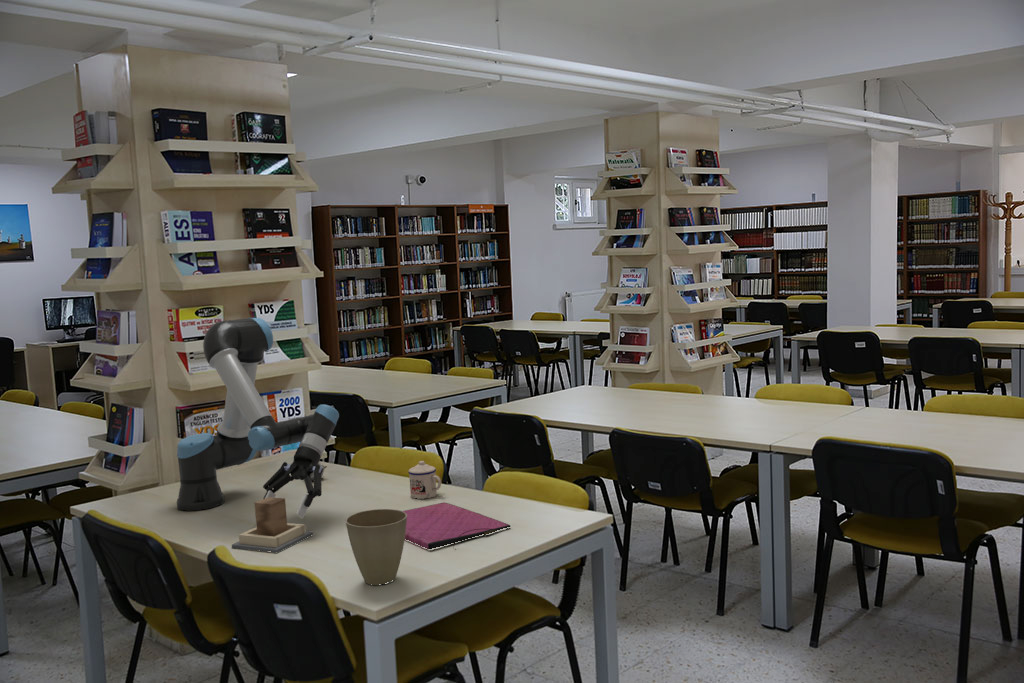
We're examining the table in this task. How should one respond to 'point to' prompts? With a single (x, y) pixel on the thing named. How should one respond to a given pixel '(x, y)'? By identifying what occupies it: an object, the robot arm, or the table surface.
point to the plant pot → (377, 543)
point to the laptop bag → (446, 525)
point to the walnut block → (271, 516)
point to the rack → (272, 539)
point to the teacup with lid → (423, 481)
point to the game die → (322, 472)
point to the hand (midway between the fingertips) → (280, 514)
